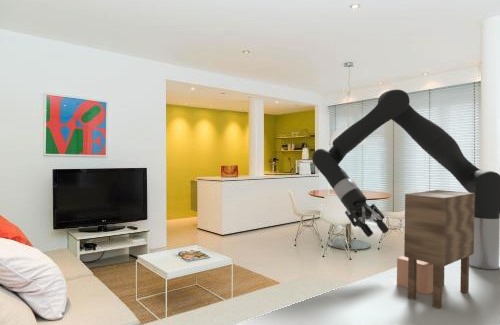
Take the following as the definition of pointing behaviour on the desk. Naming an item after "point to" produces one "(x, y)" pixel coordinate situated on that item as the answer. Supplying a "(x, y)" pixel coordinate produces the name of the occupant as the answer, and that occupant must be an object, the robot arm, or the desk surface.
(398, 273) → the terracotta block
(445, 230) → the walnut cabinet
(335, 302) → the desk surface
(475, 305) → the desk surface
